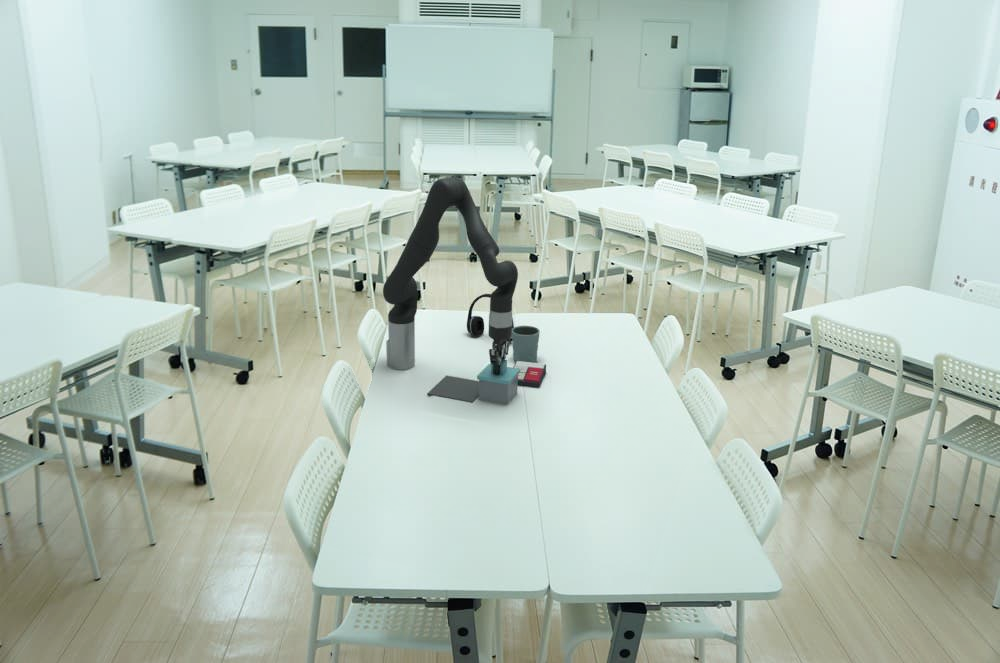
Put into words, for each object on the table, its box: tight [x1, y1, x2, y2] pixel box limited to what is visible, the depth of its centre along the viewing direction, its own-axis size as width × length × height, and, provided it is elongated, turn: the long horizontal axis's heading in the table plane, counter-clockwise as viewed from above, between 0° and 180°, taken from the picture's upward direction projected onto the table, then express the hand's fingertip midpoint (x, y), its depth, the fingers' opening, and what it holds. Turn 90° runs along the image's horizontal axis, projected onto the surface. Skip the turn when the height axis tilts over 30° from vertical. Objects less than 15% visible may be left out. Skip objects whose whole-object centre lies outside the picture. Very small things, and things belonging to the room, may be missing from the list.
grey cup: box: [511, 325, 541, 364], centre depth 309 cm, size 10×10×12 cm
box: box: [478, 375, 519, 406], centre depth 279 cm, size 10×10×8 cm
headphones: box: [466, 293, 515, 343], centre depth 327 cm, size 20×7×18 cm, turn 57°
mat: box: [426, 375, 479, 404], centre depth 285 cm, size 16×16×1 cm
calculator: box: [512, 361, 547, 389], centre depth 295 cm, size 11×4×15 cm
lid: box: [476, 358, 520, 385], centre depth 277 cm, size 11×11×7 cm
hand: (498, 371), depth 277 cm, fingers closed on lid, 4 cm apart
